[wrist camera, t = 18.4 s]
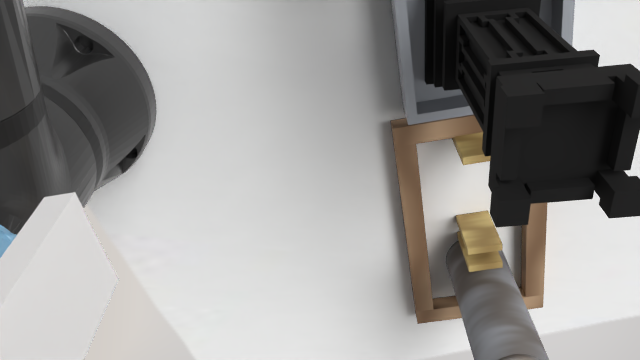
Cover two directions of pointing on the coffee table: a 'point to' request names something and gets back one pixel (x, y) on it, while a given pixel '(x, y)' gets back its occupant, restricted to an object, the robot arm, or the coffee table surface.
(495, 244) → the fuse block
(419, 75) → the tray
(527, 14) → the chess piece
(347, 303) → the coffee table surface
